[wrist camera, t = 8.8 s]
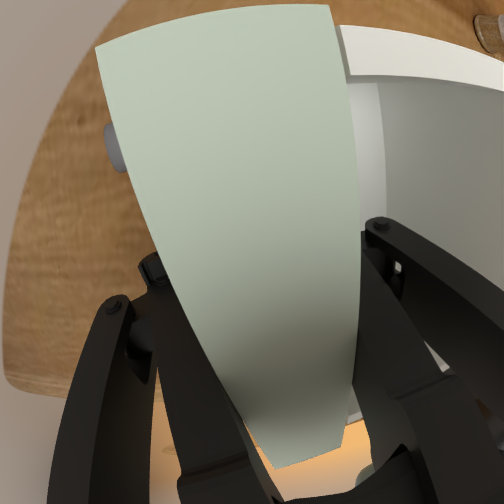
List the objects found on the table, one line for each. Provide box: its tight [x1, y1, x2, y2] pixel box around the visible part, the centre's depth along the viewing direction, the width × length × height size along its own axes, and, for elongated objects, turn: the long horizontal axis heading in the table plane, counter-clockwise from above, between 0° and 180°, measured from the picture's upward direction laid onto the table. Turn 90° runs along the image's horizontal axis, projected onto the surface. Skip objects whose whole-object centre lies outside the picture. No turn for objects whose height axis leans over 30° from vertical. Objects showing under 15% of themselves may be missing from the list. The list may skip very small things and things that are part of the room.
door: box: [95, 4, 361, 469], centre depth 11 cm, size 14×4×12 cm, turn 12°
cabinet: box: [335, 25, 504, 424], centre depth 12 cm, size 14×15×12 cm
